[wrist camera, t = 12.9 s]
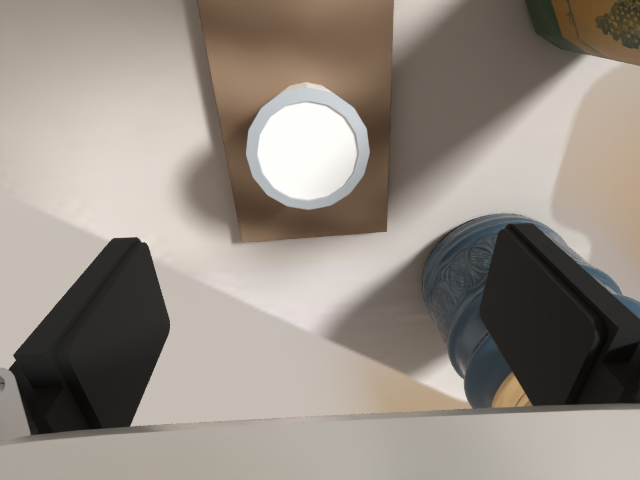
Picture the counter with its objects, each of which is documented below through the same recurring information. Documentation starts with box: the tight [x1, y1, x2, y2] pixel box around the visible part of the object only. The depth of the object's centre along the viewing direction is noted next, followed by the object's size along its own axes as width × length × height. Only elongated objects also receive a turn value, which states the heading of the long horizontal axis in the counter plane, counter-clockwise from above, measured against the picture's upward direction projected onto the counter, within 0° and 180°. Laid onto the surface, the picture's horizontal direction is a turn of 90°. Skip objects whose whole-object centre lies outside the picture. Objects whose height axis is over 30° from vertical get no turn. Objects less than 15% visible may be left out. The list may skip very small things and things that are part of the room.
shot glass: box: [246, 82, 370, 210], centre depth 24 cm, size 7×7×7 cm
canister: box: [422, 214, 640, 409], centre depth 29 cm, size 13×13×18 cm
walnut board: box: [197, 0, 394, 242], centre depth 28 cm, size 18×12×2 cm, turn 3°
